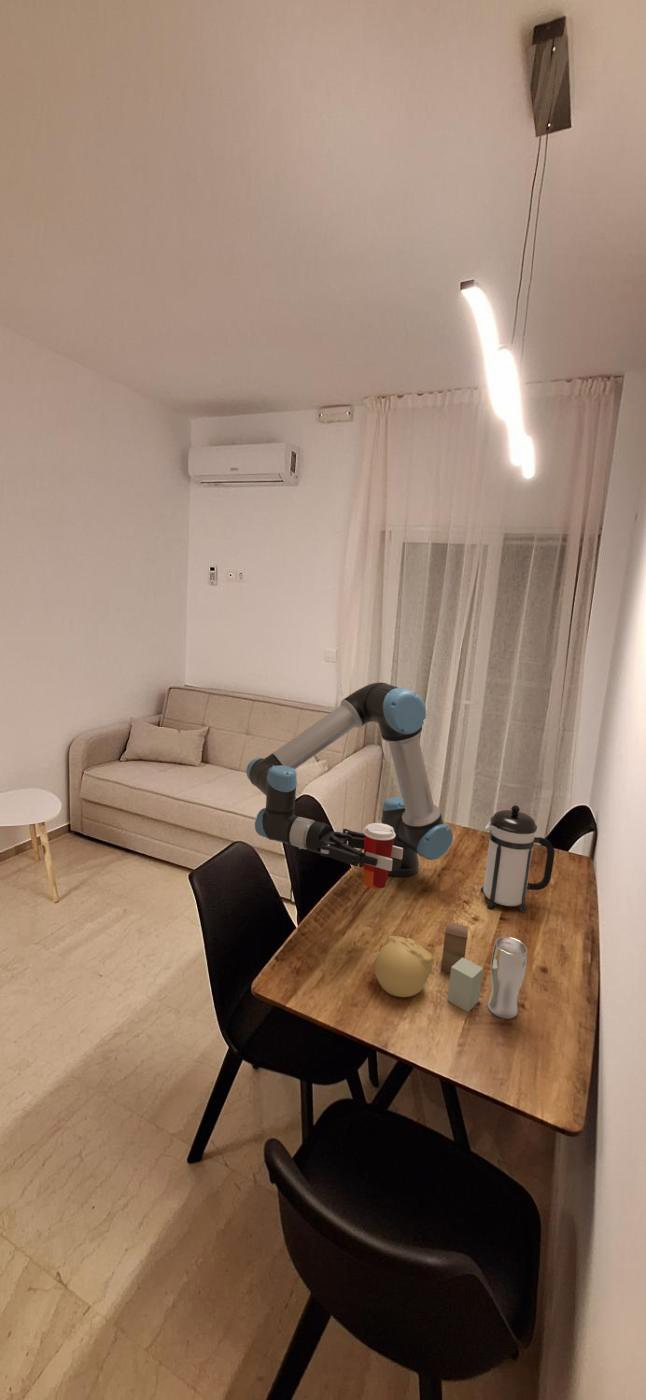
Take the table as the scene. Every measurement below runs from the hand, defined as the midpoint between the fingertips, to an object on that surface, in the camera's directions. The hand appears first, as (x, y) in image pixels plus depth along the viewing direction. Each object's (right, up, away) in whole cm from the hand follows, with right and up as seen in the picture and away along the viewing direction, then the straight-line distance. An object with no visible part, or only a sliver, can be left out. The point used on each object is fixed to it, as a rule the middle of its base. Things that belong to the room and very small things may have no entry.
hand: (396, 859), depth 133 cm
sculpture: (0, -27, -7) cm, 28 cm away
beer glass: (+21, -29, -12) cm, 38 cm away
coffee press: (+37, -23, +35) cm, 56 cm away
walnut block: (+13, -26, +1) cm, 29 cm away
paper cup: (-5, -7, +4) cm, 9 cm away
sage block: (+13, -28, -10) cm, 33 cm away
